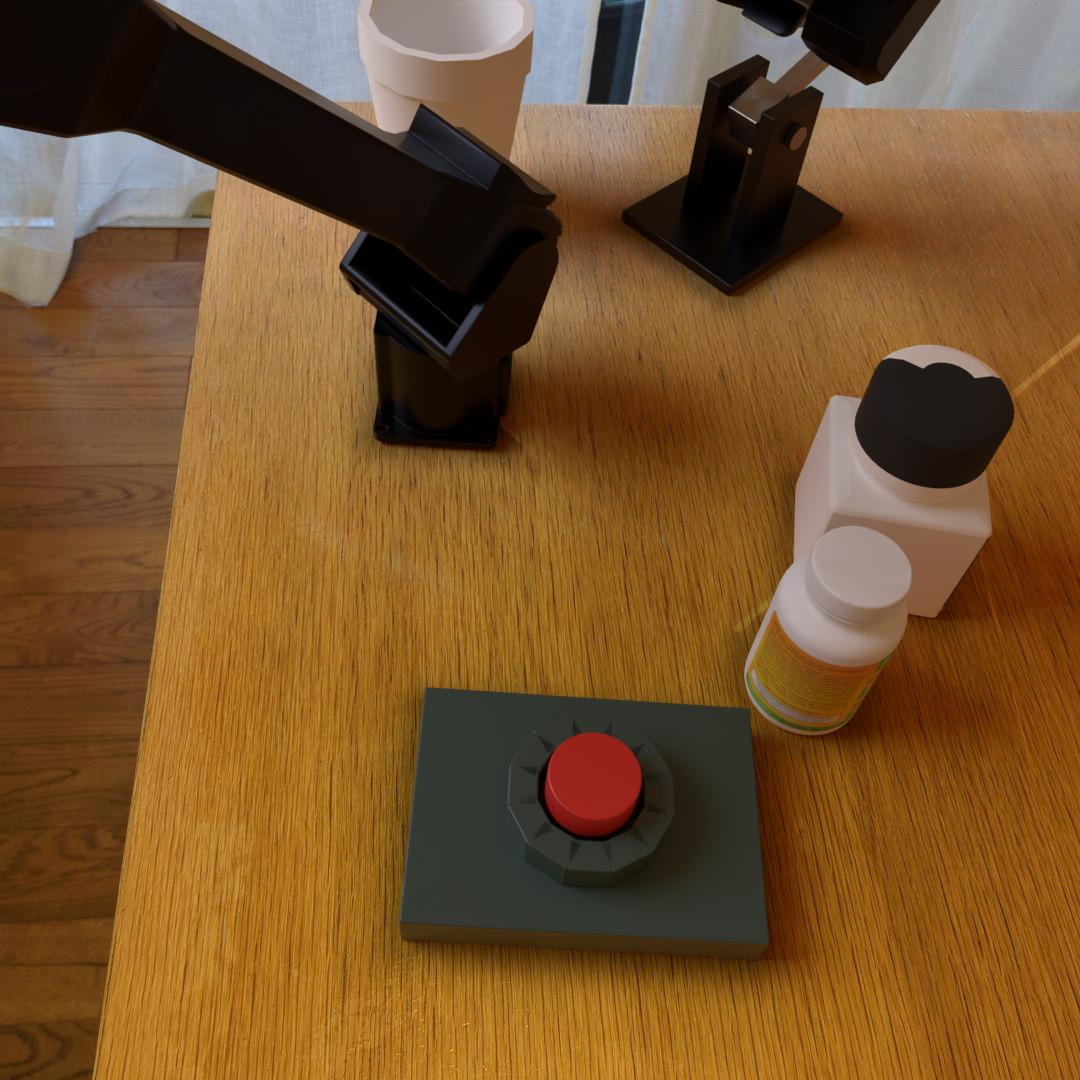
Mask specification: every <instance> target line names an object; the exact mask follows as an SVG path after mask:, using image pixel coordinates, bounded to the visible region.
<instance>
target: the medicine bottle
mask: <svg viewBox="0 0 1080 1080" xmlns="http://www.w3.org/2000/svg"><path fill="white" fill-rule="evenodd" d="M1014 404H1015V403H1014V401H1013V398H1012V395H1011V393H1010V391H1009V389H1008V387H1007V386H1006V383H1005V382H1004V381H1003V379H1002V378H1001V377H1000V375H998V373H997V372H996V371H995V370H993V369H992V368H991V367H990V366H989V365H988V364H987V363H985V362H984V361H982V360H981V359H978V358H977V357H976V356H974V355H971V354H969V353H967V352H965V351H962V350H960V349H957V348H954V347H950V346H945V345H939V344H938V345H937V344H917V345H911V346H907V347H904V348H901V349H898V350H895V351H892V352H891V353H890V354H888V355H886V356H885V357H884V358H883V359H882V360H880V361H879V363H878V364H877V365H876V367H875V369H874V371H873V374H872V375H871V378H870V380H869V382H868V385H867V387H866V389H865V392H864V394H863V396H862V398H859V397H854V396H848V395H841V394H835V395H832V397H831V398H830V399H829V401H828V405H827V407H826V409H825V412H824V414H823V417H822V418H821V422H820V424H819V427H818V429H817V431H816V433H815V436H814V439H813V442H812V444H811V446H810V449H809V451H808V454H807V456H806V459H805V461H804V464H803V466H802V469H801V471H800V474H799V476H798V479H797V481H796V484H795V499H794V529H793V531H794V532H793V563H794V562H796V561H797V560H799V559H800V558H802V557H804V556H806V555H808V554H810V553H811V552H812V550H813V548H814V546H815V544H816V543H817V541H818V540H819V539H820V538H821V537H822V536H823V535H824V534H825V533H827V532H829V531H830V530H832V529H835V528H839V527H843V526H862V527H866V528H870V529H873V530H876V531H878V532H880V533H882V534H884V535H886V536H887V537H889V538H890V539H892V540H893V541H894V542H895V543H896V544H898V545H899V547H900V548H901V549H902V550H903V551H904V553H905V554H906V556H907V558H908V560H909V562H910V564H911V568H912V574H913V579H912V585H911V588H910V590H909V592H908V594H907V596H906V598H905V600H906V604H907V612H908V615H913V616H918V617H923V618H936V617H938V616H939V615H940V613H941V612H942V610H943V609H944V607H945V606H946V605H947V603H948V601H949V600H950V598H951V597H952V595H953V594H954V592H955V591H956V589H957V587H958V586H959V585H960V583H961V582H962V580H963V579H964V577H965V576H966V574H967V572H969V570H970V568H971V567H972V565H973V564H974V562H975V561H976V559H977V557H978V556H979V555H980V553H981V551H982V550H983V549H984V547H985V546H986V544H987V542H988V541H989V539H990V538H991V537H992V534H993V525H992V524H993V523H992V515H991V507H990V506H991V505H990V497H989V495H990V494H989V487H988V486H989V485H988V478H987V468H988V467H989V465H990V463H991V462H992V460H993V458H994V456H995V455H996V454H997V451H998V450H999V448H1000V446H1001V445H1002V443H1003V442H1004V440H1005V438H1006V437H1007V435H1008V433H1010V430H1011V428H1012V426H1013V423H1014V420H1015V405H1014Z"/></svg>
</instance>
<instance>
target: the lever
mask: <svg viewBox="0 0 1080 1080" xmlns="http://www.w3.org/2000/svg"><path fill="white" fill-rule="evenodd" d="M829 66H830V65H829V64H827V63H826V62H824V61H823V60H821V59H820V58H819V57H818V56H817V55H815V54H814V53H813V52H812V51H811V50H810V49H809V50H808V51H807V53H806V54H804V55H803V56H802V57H801V58H800V59H799V60H798V61H797V62H796V63H795V64H793V66H792V67H790V68H789V69H788V70H787V71H786V72H785V73H783V75H782V76H780V77H779V78H778V79H777V80H776V81H775V82H773V81H771V80H769V79H767V77H766V78H764V77H762V76H760V77H759V78H758V79H757V80H756V81H755V82H754V83H753V84H752V85H750V86H749V87H748V88H747V89H746V90H745V91H744V92H743V93H742V94H741V95H740V96H739V97H737V98H736V99H735V100H734V101H733V102H732V103H731V104H730V105H729V106H728V115H729V135H730V136H731V137H733V138H734V139H736V140H738V141H739V142H741V143H742V144H744V145H745V146H747V147H749V149H750V150H752V148H753V144H754V140H755V136H756V132H757V128H758V125H759V121H760V117H761V113H762V112H763V111H765V110H767V109H769V108H770V107H772V106H774V105H776V104H778V103H780V102H781V101H783V100H785V99H787V98H789V97H791V96H793V95H794V94H796V93H798V92H800V91H802V90H804V89H805V88H807V87H809V86H810V84H811V83H812V82H813V81H815V80H816V79H817V78H818V77H819V76H820V75H821V74H822V73H823V72H825V70H826V69H827V68H828V67H829Z"/></svg>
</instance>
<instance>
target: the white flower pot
mask: <svg viewBox="0 0 1080 1080" xmlns="http://www.w3.org/2000/svg"><path fill="white" fill-rule="evenodd" d="M356 18H357V30H358V33H357V34H358V45H359V46H358V47H359V58H360V59H361V61H362V63H363V64H364V66H365V69H366V75H367V80H368V85H369V89H370V94H371V99H372V100H371V101H372V104H373V109H374V113H375V119H376V123H377V127H378V128H380V129H382V130H384V131H386V132H390V133H394V134H396V133H400V132H403V131H407V130H409V128H410V125H411V123H412V121H413V119H414V116H415V114H416V112H417V109H418V107H419V105H420V104H421V103H423V104H424V105H425V106H427V107H428V108H430V109H431V110H432V111H434V112H435V113H436V114H438V115H439V116H441V117H442V118H443V119H445V120H446V121H447V122H449V123H450V124H452V125H453V126H454V127H463V128H465V129H466V130H467V131H469V132H470V133H471V134H473V135H474V136H476V137H477V138H478V139H480V140H481V141H482V142H484V143H485V144H487V145H488V146H489V147H491V148H492V149H494V150H495V151H496V152H498V153H499V154H500V155H502V156H503V157H505V158H506V159H507V160H509V161H511V160H510V159H511V154H512V149H513V143H514V140H515V134H516V128H517V124H518V119H519V114H520V109H521V103H522V100H523V99H522V98H523V94H524V88H525V84H526V79H527V76H529V74H530V73H531V72H532V59H533V48H534V46H533V45H534V31H535V18H536V9H535V7H534V6H533V4H532V3H531V2H530V0H360V3H359V7H358V11H357V15H356Z"/></svg>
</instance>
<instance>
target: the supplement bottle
mask: <svg viewBox="0 0 1080 1080" xmlns="http://www.w3.org/2000/svg"><path fill="white" fill-rule="evenodd" d="M912 579H913V574H912V568H911V564H910V562H909V560H908V558H907V556H906V554H905V553H904V551H903V550H902V549H901V548H900V547H899V545H898V544H896V543H895V542H894V541H893V540H892V539H890V538H889V537H887V536H886V535H884V534H882V533H880V532H878V531H876V530H873V529H870V528H866V527H862V526H843V527H839V528H835V529H832V530H830V531H829V532H827V533H825V534H824V535H823V536H822V537H821V538H820V539H819V540H818V541H817V543H816V544H815V546H814V548H813V550H812V552H811V553H810V554H808V555H806V556H804V557H802V558H800V559H799V560H797V561H796V562H794V561H793V562H792V564H791V565H790V566H789V567H788V569H787V570H786V571H785V572H784V574H783V575H782V577H781V579H780V580H779V583H778V584H777V587H776V589H775V591H774V594H773V597H772V598H771V600H770V603H769V605H768V608H767V609H766V613H765V615H764V617H763V619H762V622H761V624H760V626H759V629H758V630H757V632H756V635H755V637H754V640H753V643H752V644H751V647H750V649H749V651H748V655H747V658H746V660H745V663H744V664H745V665H744V669H743V670H744V672H743V678H744V685H745V689H746V691H747V692H746V693H747V694H748V697H749V699H750V701H751V702H752V704H753V705H754V707H755V708H756V710H757V711H758V712H759V713H760V714H761V715H762V716H763V717H764V718H765V720H767V721H768V722H770V723H771V724H773V725H774V726H776V727H777V728H779V729H782V730H784V731H787V732H790V733H792V734H796V735H804V736H821V735H825V734H830V733H833V732H834V731H837V730H838V729H840V728H842V727H843V726H845V725H846V724H847V723H848V722H849V721H850V720H851V719H852V718H853V717H854V715H855V714H856V712H857V711H858V709H859V708H860V706H861V704H862V703H863V702H864V699H866V696H867V695H868V694H869V692H870V690H871V688H872V687H873V685H874V684H875V682H876V681H877V678H878V677H879V676H880V674H881V673H882V670H883V669H884V668H885V666H886V664H887V663H888V661H889V660H890V658H891V656H892V655H893V653H894V652H895V650H896V649H897V647H898V645H899V644H900V642H901V640H902V638H903V636H904V634H905V632H906V628H907V624H908V616H909V614H908V612H907V604H906V600H905V598H906V596H907V594H908V592H909V590H910V588H911V585H912Z"/></svg>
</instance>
